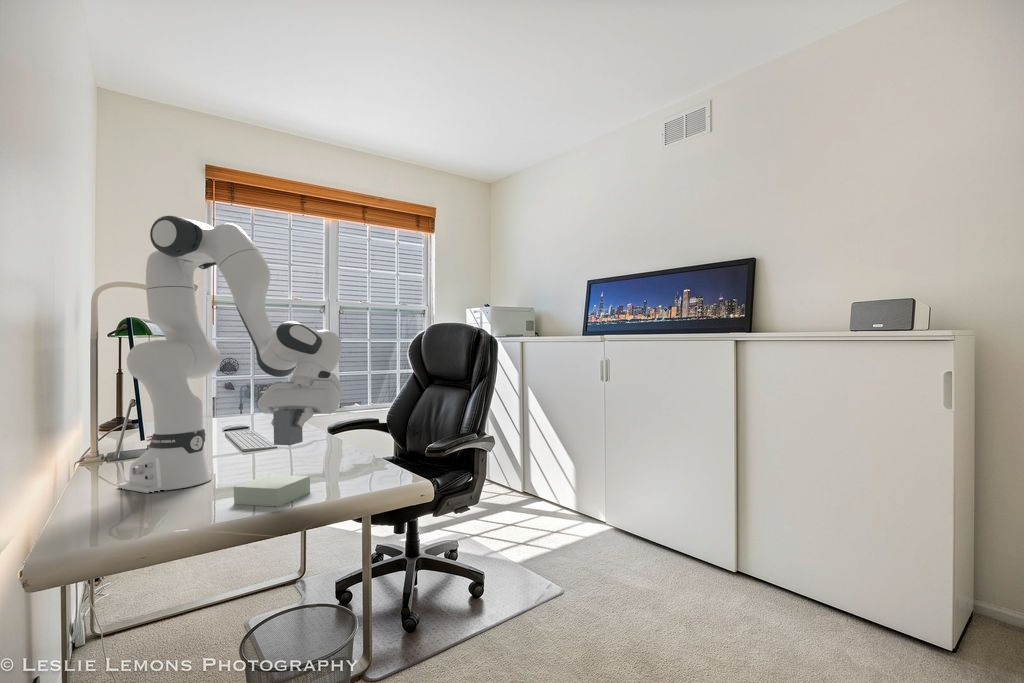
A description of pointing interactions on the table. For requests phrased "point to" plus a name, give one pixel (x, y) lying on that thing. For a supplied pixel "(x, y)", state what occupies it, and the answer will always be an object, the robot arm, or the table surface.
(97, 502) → the table surface
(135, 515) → the table surface
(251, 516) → the table surface
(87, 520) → the table surface
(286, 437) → the block
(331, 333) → the robot arm
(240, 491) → the stand
